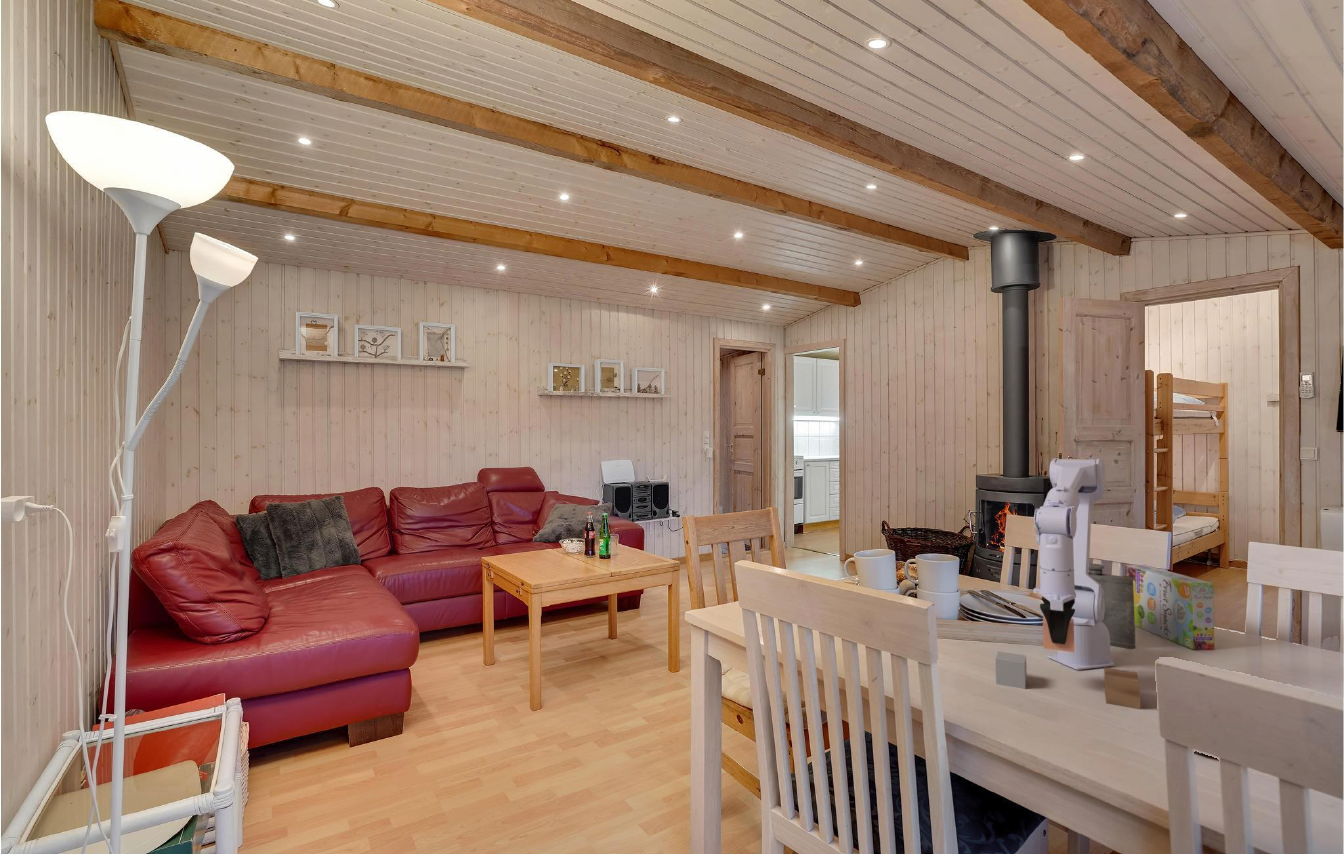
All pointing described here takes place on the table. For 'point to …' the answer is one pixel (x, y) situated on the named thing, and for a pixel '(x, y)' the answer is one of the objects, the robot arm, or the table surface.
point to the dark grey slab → (1117, 606)
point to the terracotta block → (1062, 647)
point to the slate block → (1011, 670)
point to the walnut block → (1122, 688)
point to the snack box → (1173, 606)
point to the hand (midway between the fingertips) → (1058, 638)
